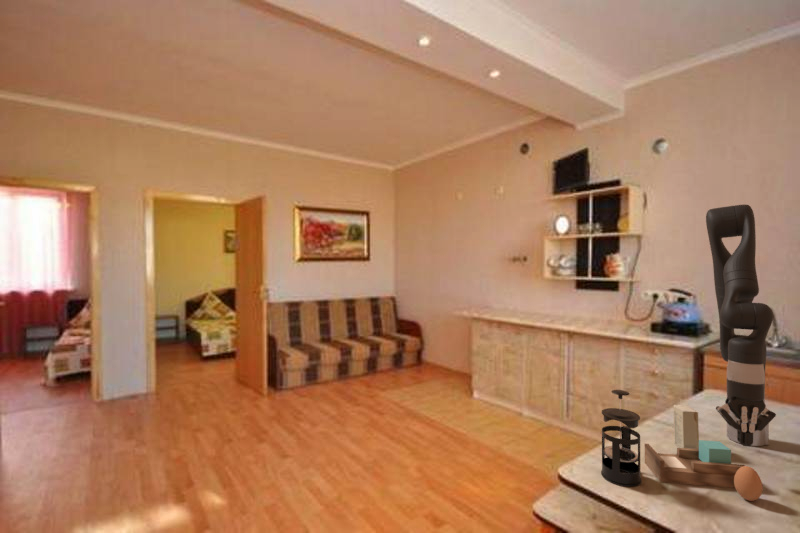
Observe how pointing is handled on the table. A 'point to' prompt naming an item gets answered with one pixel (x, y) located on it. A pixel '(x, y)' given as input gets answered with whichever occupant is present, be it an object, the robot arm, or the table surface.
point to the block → (714, 452)
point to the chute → (689, 468)
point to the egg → (748, 483)
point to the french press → (620, 455)
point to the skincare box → (686, 427)
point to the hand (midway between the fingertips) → (745, 445)
